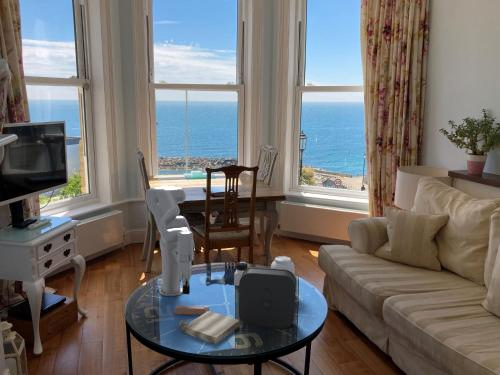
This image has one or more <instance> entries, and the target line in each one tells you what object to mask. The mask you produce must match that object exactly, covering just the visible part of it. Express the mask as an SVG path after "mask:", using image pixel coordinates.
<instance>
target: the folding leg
mask: <svg viewBox="0 0 500 375" xmlns="http://www.w3.org/2000/svg"><path fill="white" fill-rule="evenodd" d="M173 310H174V315H196V316H197V315H199V316H201V315H203V314H204V313H206V312H207V311H210V306H209V305H204V306H199V305H197V306H196V305H195V306H194V305H192V306H191V305H175V306H174V309H173Z"/></svg>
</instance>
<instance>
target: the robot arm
mask: <svg viewBox="0 0 500 375" xmlns="http://www.w3.org/2000/svg"><path fill="white" fill-rule="evenodd" d="M186 195H187V194H186V192H185V190H184V188H182V187H180V186H176V185H170V186H169V185H167V186H154V187H151V188H148V189H147V190H146V192H145V201H146V204H147V207H148V208H149V210H150V212H151V213H152V215H153V217H154V220H155V224H156V227H157V230H158V232H159V234H160V239H159V248H160V251H161V252H160V253H161V280H160V279H159V281H158V283H157V284H156V285H157V286H160V288H159V290H158V291H159V294H160V295H161V296H164V297H176V296H177V297H178V296H179V295H190V294H191V293H190V292H191V290H190V289H191V287H190V286H191V285H190V280H191V278H192V274H193V273H192V272H193V271H192V266H193V265H192V262H193V261H194V247H195V246H194V245H195V241H194V233H193V232H192V230H191V228H190V225H189V222H188V220H187V218H186V217H185V216H184V215H183V216H182V215H180V212H181V210H180V207H179V205H178V204H183V203H184V202H185V201H186ZM181 283H182V286H181Z"/></svg>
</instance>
